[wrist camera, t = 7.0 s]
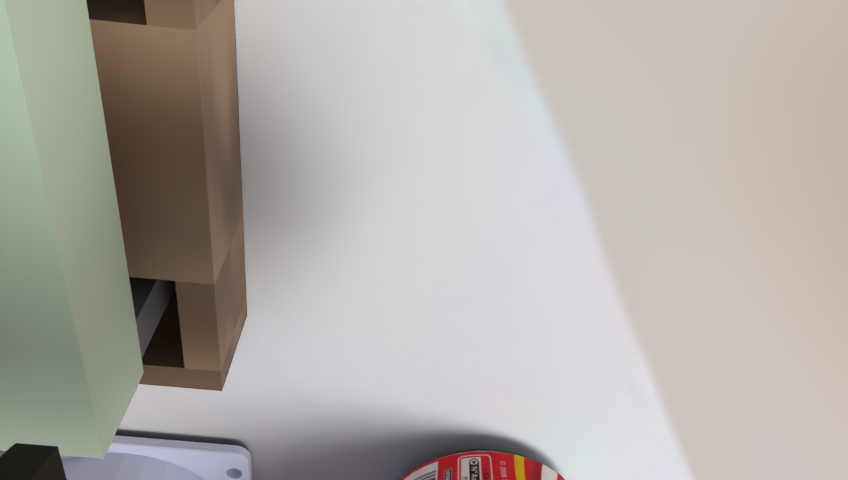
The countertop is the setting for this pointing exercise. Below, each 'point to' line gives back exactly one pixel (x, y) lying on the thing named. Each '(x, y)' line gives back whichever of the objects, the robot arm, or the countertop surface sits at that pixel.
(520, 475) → the soda can
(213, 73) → the post base
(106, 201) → the green toy bench
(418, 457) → the countertop surface
